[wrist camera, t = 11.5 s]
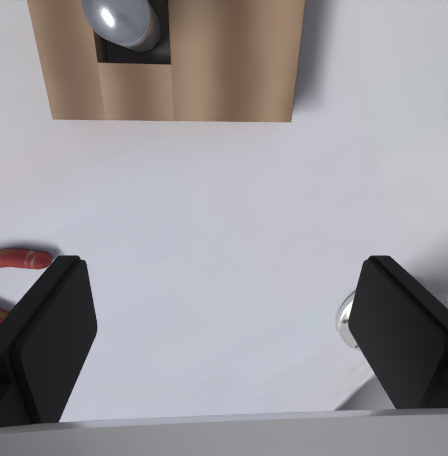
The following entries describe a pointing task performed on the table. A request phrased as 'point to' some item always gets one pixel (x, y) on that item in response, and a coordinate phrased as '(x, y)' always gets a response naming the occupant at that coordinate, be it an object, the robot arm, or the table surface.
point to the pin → (124, 22)
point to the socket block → (176, 64)
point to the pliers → (23, 263)
